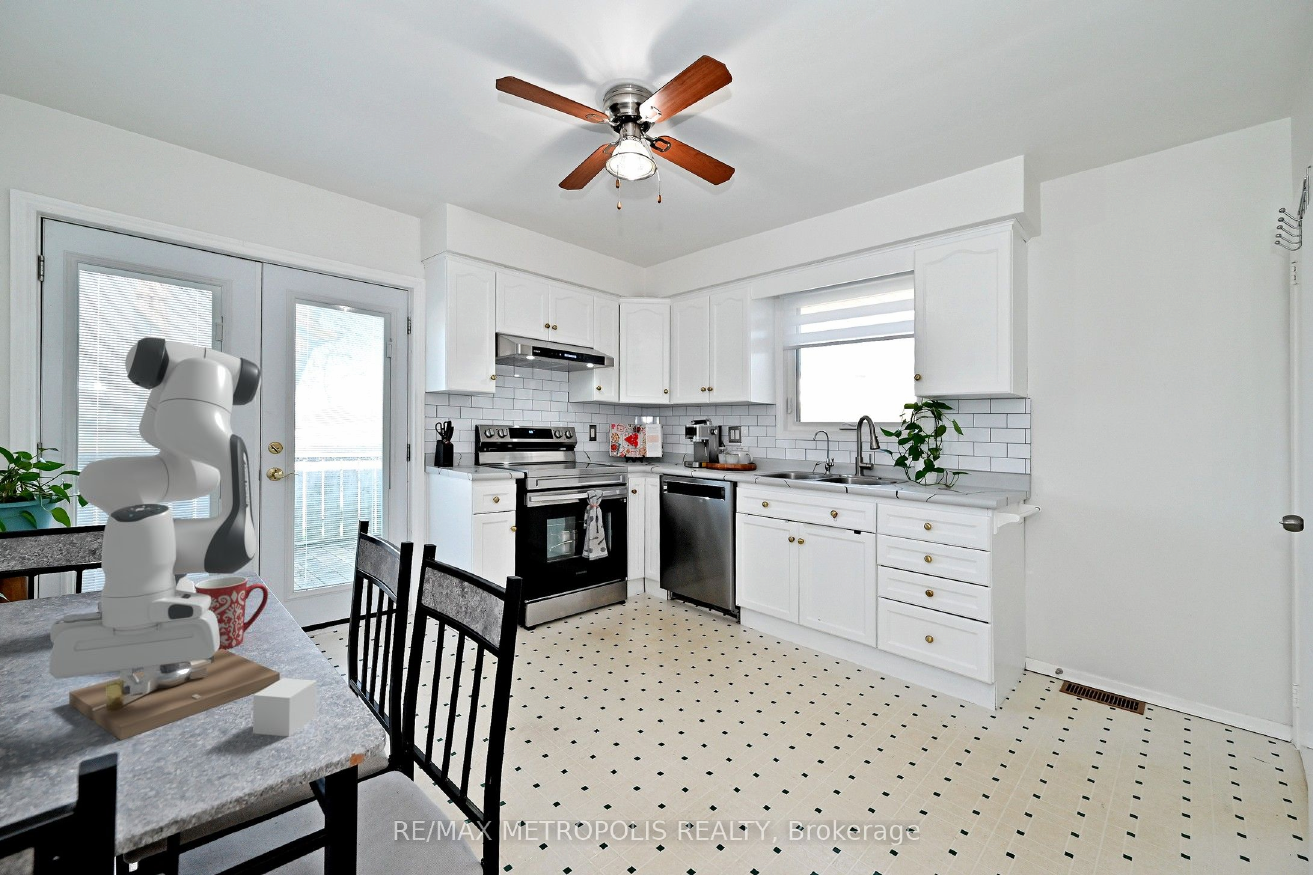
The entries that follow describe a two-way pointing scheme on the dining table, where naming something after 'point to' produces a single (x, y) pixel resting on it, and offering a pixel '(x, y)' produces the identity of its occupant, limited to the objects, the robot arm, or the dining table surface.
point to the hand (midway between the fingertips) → (139, 693)
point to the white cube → (284, 707)
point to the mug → (231, 606)
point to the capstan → (151, 683)
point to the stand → (176, 695)
